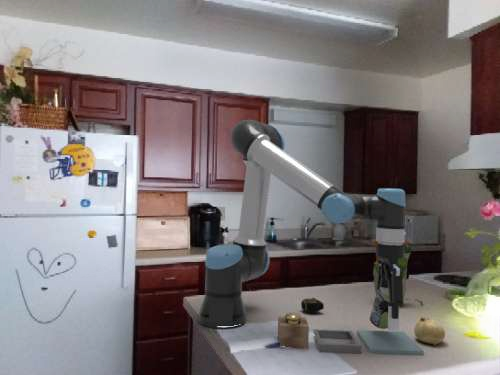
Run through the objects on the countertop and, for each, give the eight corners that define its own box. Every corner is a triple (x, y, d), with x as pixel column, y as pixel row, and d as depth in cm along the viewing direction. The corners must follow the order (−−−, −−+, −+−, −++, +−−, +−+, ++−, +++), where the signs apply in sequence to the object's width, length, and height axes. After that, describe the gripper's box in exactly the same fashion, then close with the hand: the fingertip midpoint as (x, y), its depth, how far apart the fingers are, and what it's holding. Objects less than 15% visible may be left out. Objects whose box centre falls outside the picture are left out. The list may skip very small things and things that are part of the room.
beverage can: (373, 317, 119) (377, 281, 116) (398, 326, 114) (402, 288, 112) (365, 325, 114) (369, 287, 111) (390, 335, 109) (395, 296, 107)
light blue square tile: (370, 353, 102) (370, 349, 102) (356, 333, 116) (356, 330, 116) (423, 355, 102) (423, 351, 102) (403, 335, 116) (404, 331, 116)
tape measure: (325, 312, 133) (324, 301, 133) (307, 315, 131) (306, 304, 131) (315, 306, 140) (315, 296, 140) (298, 309, 138) (297, 299, 138)
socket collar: (318, 351, 102) (319, 344, 102) (313, 336, 113) (313, 329, 113) (360, 353, 102) (361, 345, 102) (351, 337, 113) (351, 330, 113)
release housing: (279, 348, 104) (279, 325, 104) (277, 337, 112) (278, 316, 112) (308, 349, 104) (308, 326, 104) (304, 338, 111) (305, 317, 111)
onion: (435, 336, 115) (436, 313, 115) (450, 347, 107) (451, 322, 107) (409, 336, 115) (409, 312, 115) (422, 347, 107) (422, 321, 107)
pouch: (412, 304, 147) (413, 239, 147) (393, 309, 140) (395, 241, 140) (387, 297, 156) (388, 236, 156) (368, 302, 149) (369, 237, 150)
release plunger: (285, 344, 105) (285, 317, 105) (284, 338, 110) (284, 312, 110) (301, 345, 105) (301, 318, 105) (299, 339, 110) (300, 312, 110)
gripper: (418, 249, 99) (416, 338, 98) (391, 238, 119) (389, 313, 119) (388, 248, 99) (386, 337, 99) (366, 238, 119) (364, 312, 119)
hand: (388, 324), depth 109 cm, fingers open, 8 cm apart
